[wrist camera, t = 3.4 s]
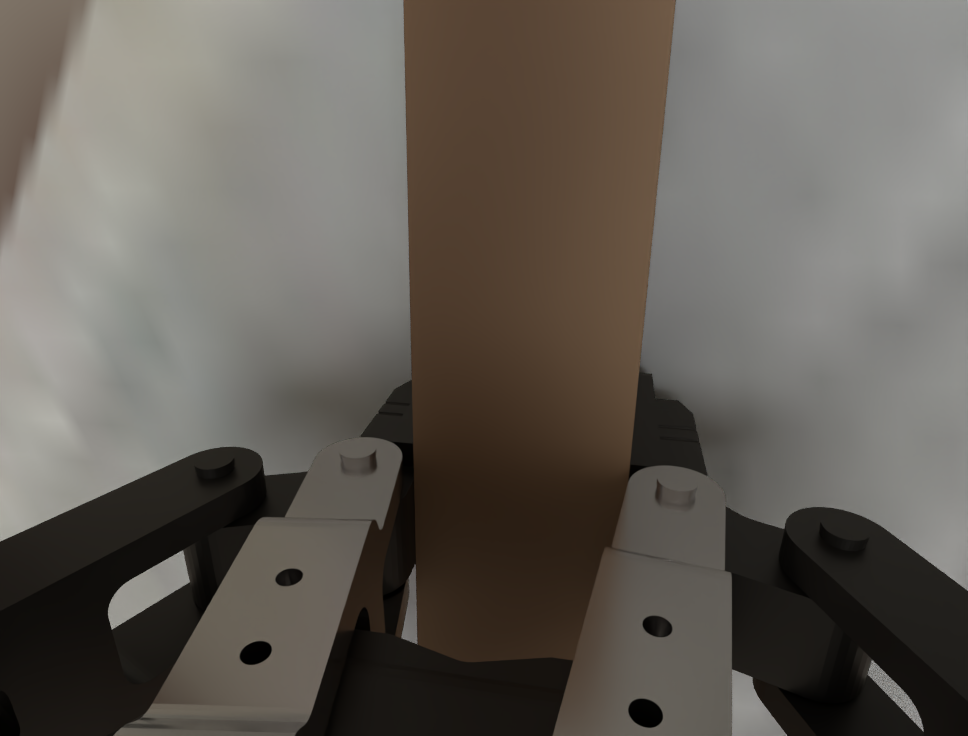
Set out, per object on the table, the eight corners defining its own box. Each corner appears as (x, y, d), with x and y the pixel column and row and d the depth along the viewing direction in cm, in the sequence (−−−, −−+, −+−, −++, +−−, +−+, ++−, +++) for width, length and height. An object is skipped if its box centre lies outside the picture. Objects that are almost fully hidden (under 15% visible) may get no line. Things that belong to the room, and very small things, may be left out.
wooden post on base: (762, -57, 10) (853, -168, 6) (640, 862, 17) (649, 1069, 13) (382, -47, 11) (269, -137, 7) (409, 819, 18) (356, 1001, 14)
